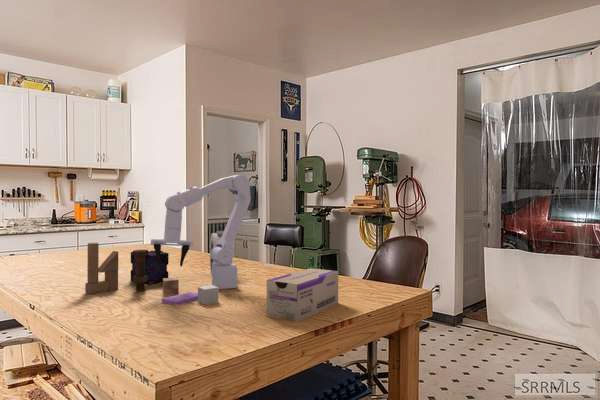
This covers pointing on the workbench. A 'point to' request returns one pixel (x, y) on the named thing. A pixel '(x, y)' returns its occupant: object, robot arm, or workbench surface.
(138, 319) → the workbench surface
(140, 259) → the bolt
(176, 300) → the sponges
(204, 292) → the grey block
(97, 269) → the wooden block
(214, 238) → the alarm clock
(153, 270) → the energy cube
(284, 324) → the workbench surface
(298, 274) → the surgical sutures box
